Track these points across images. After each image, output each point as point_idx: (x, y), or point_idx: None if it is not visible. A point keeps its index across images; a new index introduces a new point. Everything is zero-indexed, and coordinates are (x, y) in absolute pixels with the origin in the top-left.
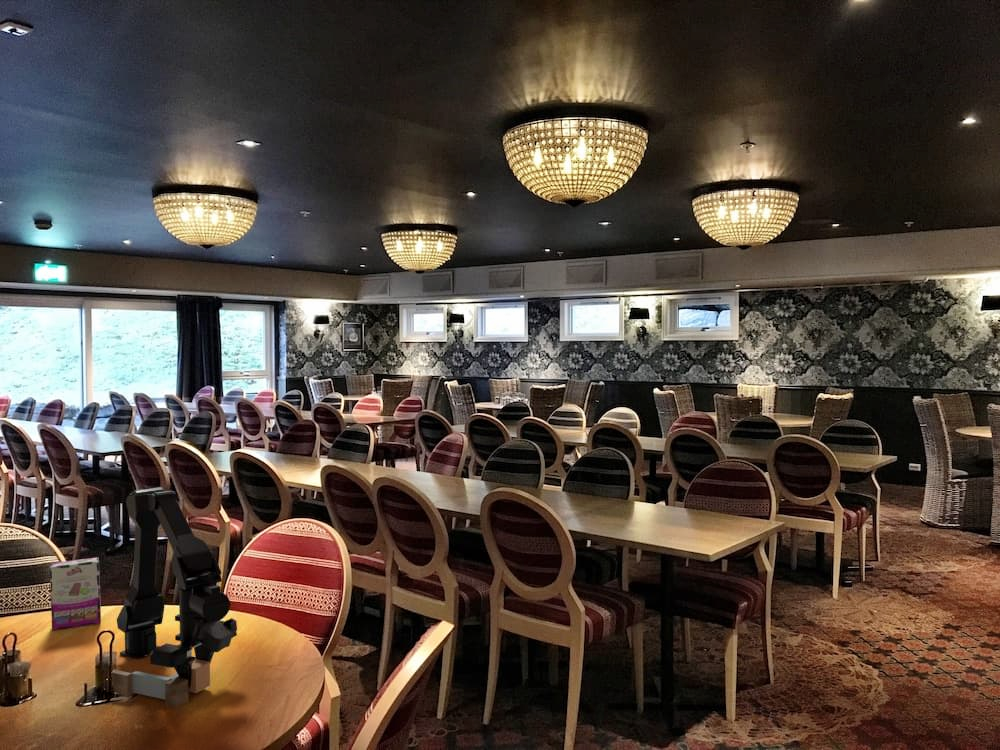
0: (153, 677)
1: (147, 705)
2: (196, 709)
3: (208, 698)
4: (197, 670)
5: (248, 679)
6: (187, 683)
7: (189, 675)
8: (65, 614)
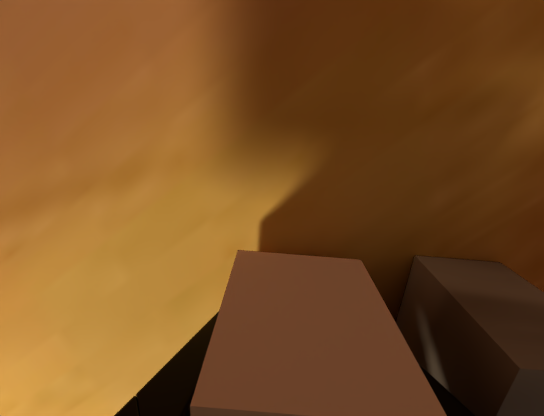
0: None
1: None
2: (512, 144)
3: (353, 171)
4: (412, 397)
5: (23, 90)
6: (498, 339)
7: (441, 401)
8: None
